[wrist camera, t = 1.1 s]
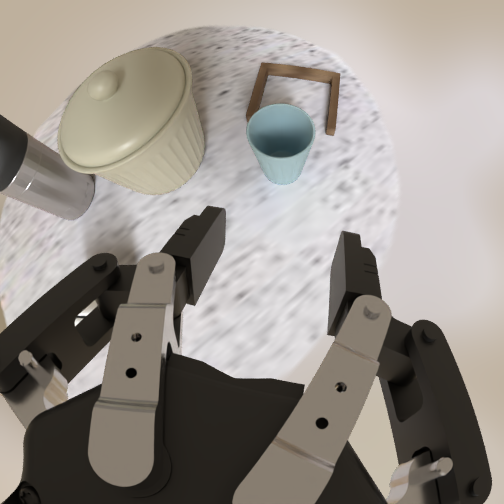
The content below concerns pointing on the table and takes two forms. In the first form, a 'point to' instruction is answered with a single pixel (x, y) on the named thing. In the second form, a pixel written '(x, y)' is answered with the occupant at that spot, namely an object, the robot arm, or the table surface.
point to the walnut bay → (300, 74)
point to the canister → (135, 123)
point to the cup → (281, 141)
